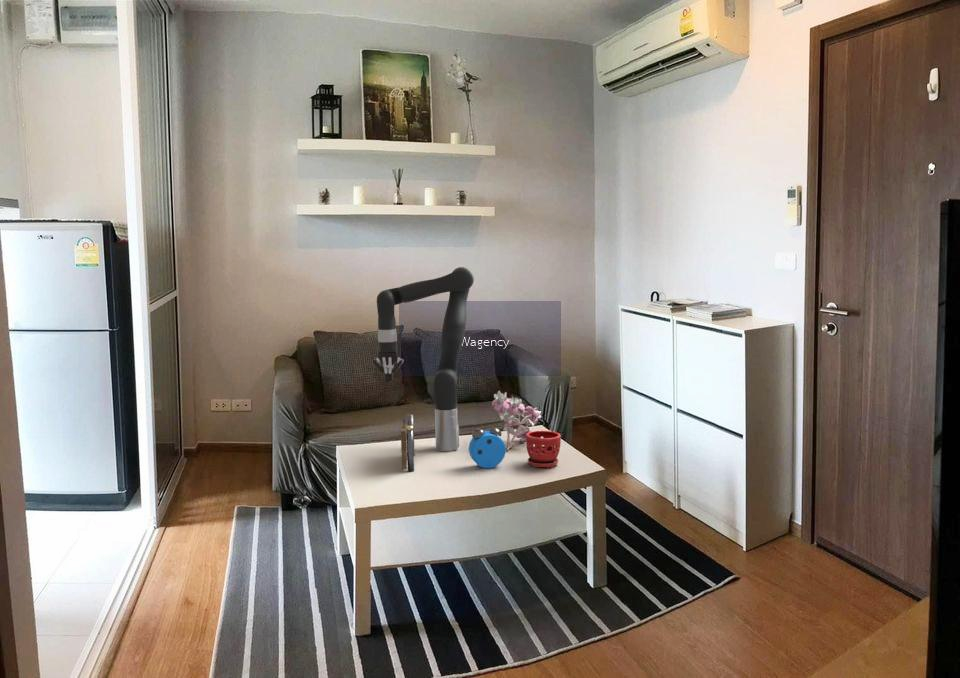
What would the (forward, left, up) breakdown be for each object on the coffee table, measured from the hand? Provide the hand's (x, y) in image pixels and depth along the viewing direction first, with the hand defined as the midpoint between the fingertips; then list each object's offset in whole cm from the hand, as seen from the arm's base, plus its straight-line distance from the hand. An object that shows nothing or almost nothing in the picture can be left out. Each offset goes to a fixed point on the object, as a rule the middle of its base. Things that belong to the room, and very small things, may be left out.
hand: (389, 382), depth 288 cm
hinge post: (-10, +6, -29) cm, 31 cm away
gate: (-10, +16, -28) cm, 34 cm away
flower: (-50, -16, -29) cm, 60 cm away
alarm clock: (-42, +16, -29) cm, 54 cm away
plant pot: (-63, +11, -29) cm, 70 cm away
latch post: (-14, +24, -29) cm, 40 cm away
